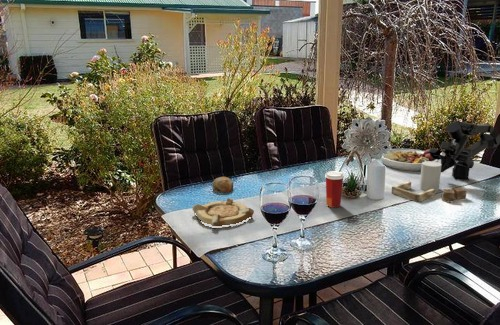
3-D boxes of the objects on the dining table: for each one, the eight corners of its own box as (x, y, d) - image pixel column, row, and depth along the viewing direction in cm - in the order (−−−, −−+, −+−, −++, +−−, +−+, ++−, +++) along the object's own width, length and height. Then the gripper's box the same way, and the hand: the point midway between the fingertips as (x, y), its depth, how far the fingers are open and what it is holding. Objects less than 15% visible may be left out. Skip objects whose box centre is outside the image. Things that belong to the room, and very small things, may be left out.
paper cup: (344, 203, 180) (346, 171, 176) (340, 209, 173) (341, 177, 169) (326, 200, 183) (327, 169, 179) (321, 207, 176) (322, 175, 172)
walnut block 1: (452, 198, 182) (453, 190, 181) (453, 202, 179) (454, 193, 178) (442, 197, 184) (443, 189, 183) (442, 201, 180) (443, 192, 179)
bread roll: (211, 197, 200) (206, 185, 195) (219, 182, 207) (215, 170, 202) (230, 200, 196) (226, 187, 191) (237, 184, 203) (234, 172, 198)
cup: (435, 186, 198) (438, 161, 195) (441, 192, 190) (444, 166, 187) (417, 185, 199) (419, 161, 195) (422, 191, 191) (424, 166, 188)
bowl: (397, 174, 216) (398, 160, 214) (370, 159, 244) (370, 145, 242) (450, 170, 222) (451, 155, 219) (417, 155, 250) (418, 142, 248)
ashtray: (194, 232, 156) (193, 220, 155) (192, 208, 179) (191, 197, 178) (257, 227, 160) (257, 215, 158) (248, 204, 182) (247, 193, 181)
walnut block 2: (459, 196, 185) (460, 187, 184) (465, 199, 182) (466, 190, 181) (451, 196, 185) (452, 188, 184) (457, 200, 181) (458, 191, 180)
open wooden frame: (408, 187, 197) (409, 181, 196) (434, 195, 186) (435, 189, 185) (391, 193, 190) (391, 186, 189) (417, 201, 180) (418, 195, 179)
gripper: (433, 131, 202) (416, 157, 200) (471, 138, 188) (454, 166, 185) (441, 145, 209) (425, 170, 206) (478, 152, 194) (462, 180, 191)
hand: (440, 171), depth 197 cm, fingers closed
